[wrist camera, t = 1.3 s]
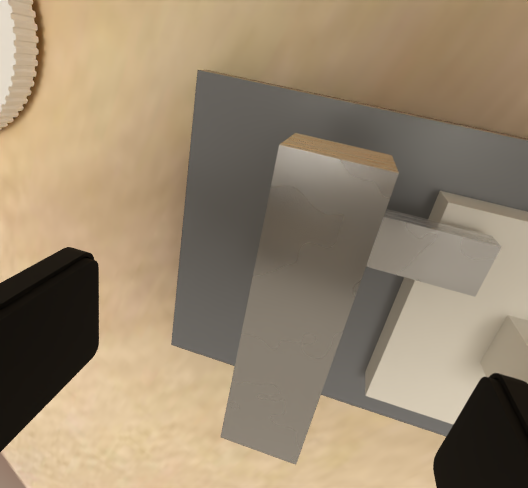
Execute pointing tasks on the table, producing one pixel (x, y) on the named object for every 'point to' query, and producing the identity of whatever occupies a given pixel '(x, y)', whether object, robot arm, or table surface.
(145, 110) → the table surface
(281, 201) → the t key
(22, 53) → the plastic lid
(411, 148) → the base
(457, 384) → the cover
